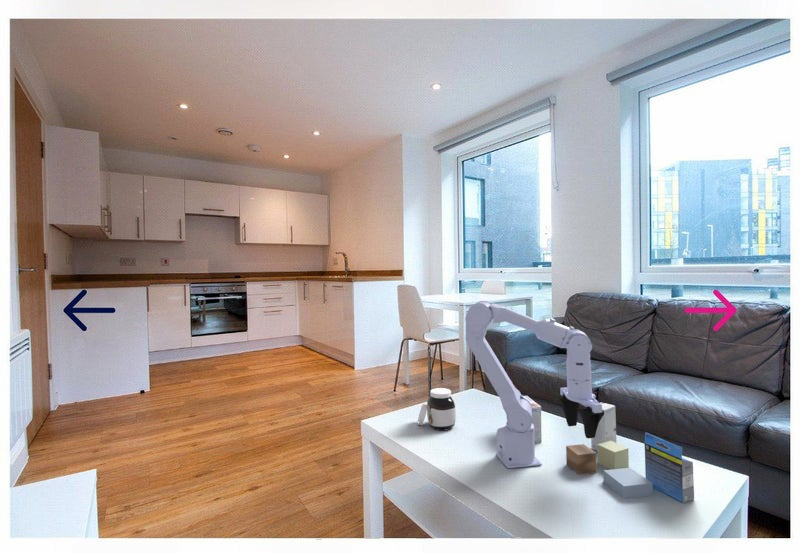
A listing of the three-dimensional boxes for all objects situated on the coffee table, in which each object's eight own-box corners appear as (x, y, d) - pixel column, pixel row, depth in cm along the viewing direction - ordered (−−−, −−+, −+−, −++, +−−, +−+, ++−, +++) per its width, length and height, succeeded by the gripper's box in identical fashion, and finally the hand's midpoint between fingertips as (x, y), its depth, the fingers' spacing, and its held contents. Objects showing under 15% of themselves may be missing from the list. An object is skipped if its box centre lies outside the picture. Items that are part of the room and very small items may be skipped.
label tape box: (695, 500, 84) (694, 444, 84) (682, 504, 83) (682, 447, 83) (656, 480, 93) (655, 429, 92) (644, 483, 91) (643, 431, 91)
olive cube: (615, 472, 97) (614, 452, 97) (597, 463, 101) (597, 444, 101) (628, 467, 99) (628, 448, 99) (611, 459, 103) (610, 440, 103)
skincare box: (605, 454, 106) (605, 410, 106) (590, 448, 110) (589, 405, 109) (617, 448, 109) (616, 405, 109) (601, 442, 113) (601, 401, 113)
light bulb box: (507, 429, 124) (506, 396, 124) (527, 428, 124) (527, 395, 124) (520, 444, 113) (520, 407, 113) (542, 443, 114) (542, 406, 113)
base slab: (624, 499, 86) (624, 486, 86) (603, 482, 92) (603, 470, 92) (652, 496, 86) (652, 483, 86) (630, 480, 93) (629, 467, 93)
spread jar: (459, 429, 124) (458, 393, 124) (428, 436, 120) (427, 398, 120) (441, 417, 136) (440, 384, 135) (412, 422, 131) (411, 388, 131)
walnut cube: (578, 474, 96) (577, 454, 96) (566, 464, 101) (566, 445, 101) (596, 472, 97) (596, 453, 96) (584, 463, 101) (583, 444, 101)
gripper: (612, 384, 92) (614, 441, 92) (576, 370, 106) (578, 419, 106) (585, 387, 91) (587, 444, 91) (552, 372, 105) (554, 421, 105)
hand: (580, 431), depth 99 cm, fingers open, 7 cm apart
